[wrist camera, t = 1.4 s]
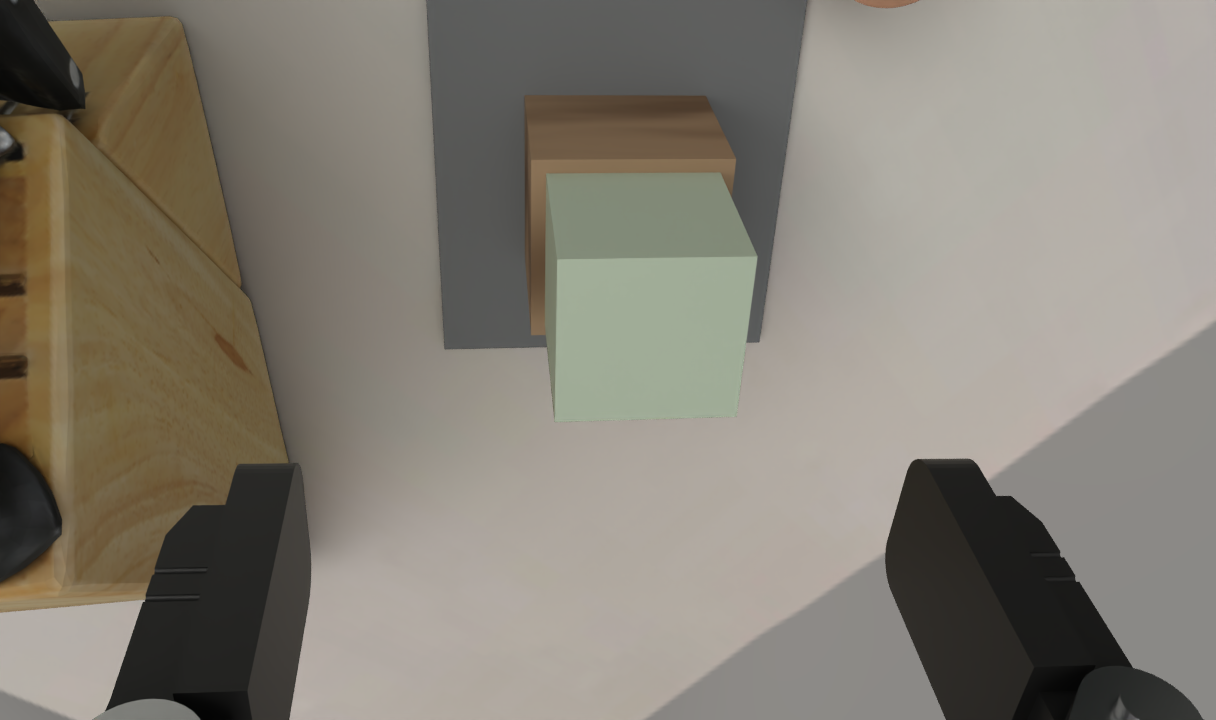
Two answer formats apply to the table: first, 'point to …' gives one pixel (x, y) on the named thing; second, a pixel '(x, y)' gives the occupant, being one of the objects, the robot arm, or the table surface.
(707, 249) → the top block
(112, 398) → the knife block
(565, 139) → the bottom block
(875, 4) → the tan rounded cylinder
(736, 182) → the mat
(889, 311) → the table surface
